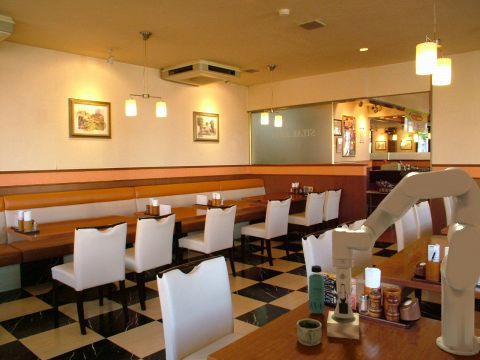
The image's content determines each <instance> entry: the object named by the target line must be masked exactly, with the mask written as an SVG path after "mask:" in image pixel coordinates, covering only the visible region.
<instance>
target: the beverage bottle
mask: <svg viewBox="0 0 480 360" xmlns="http://www.w3.org/2000/svg"><path fill="white" fill-rule="evenodd" d="M310 270H311V272H312V273H311V274H309V276H308V311H309V312H311V313H313V314H322V313H324V312H325V308H326V307H325V305H326V304H325V277H324V275H323V274H322V267H321V266H320V265H315V264H314V265H311V269H310Z"/></svg>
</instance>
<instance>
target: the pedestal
mask: <svg viewBox="0 0 480 360" xmlns="http://www.w3.org/2000/svg"><path fill="white" fill-rule="evenodd" d="M334 311H335V310H333V311H332V310H328V315H327V321H326V329H327V330H326V331H327V332H326V333H327V337H333V338H344V339H345V338H346V339H353V340H360V313H358V312H353V314H354V316H353V317H352V318H338V317H336V316H335V315H334Z"/></svg>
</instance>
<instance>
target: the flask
mask: <svg viewBox="0 0 480 360" xmlns="http://www.w3.org/2000/svg"><path fill="white" fill-rule="evenodd" d="M340 294H341V293H340ZM345 294H346V293H345ZM345 298H346V296H345ZM337 300H338V301H337V303H336V307H335V310H333V311H334V315H335V316H336V317H338V318H352V317H353V316H354V314H353V313H354V311H353V309H352V306H351V303H350V301H349V297H347V303H348V314H340V313H339V299H337Z"/></svg>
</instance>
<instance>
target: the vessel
mask: <svg viewBox="0 0 480 360" xmlns="http://www.w3.org/2000/svg"><path fill="white" fill-rule="evenodd" d="M296 329H297V331H296V336H297V338H298V342H299V343H300V344H301V345H304V346H309V347H310V346H311V347H312V346H316V345H319V344H320V343H321V338H322V335H323V334H322V333H323V332H322V323H321V322H320V321H319V320H317V319H313V318H303V319H299V320H298V321H297V322H296Z"/></svg>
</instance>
